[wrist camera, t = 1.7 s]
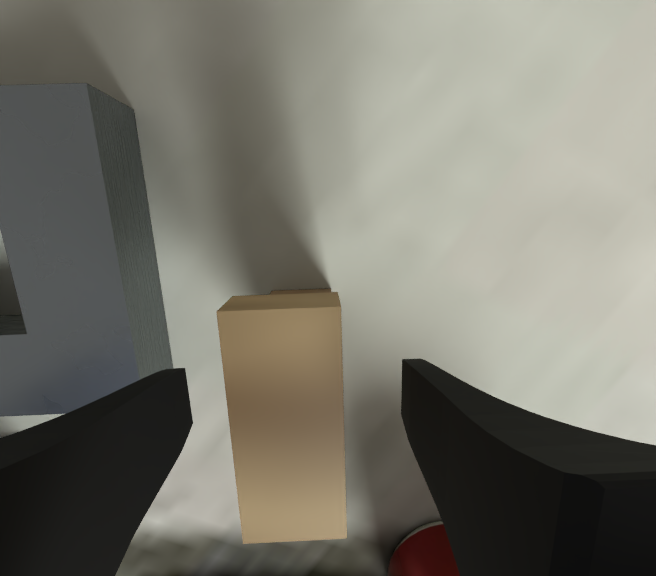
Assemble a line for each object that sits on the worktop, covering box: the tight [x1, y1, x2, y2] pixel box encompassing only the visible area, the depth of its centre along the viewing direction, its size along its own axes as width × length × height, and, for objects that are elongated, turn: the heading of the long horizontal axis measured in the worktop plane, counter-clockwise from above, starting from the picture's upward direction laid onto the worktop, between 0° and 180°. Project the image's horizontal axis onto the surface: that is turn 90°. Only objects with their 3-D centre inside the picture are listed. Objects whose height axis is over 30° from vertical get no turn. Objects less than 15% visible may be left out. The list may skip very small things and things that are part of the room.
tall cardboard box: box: [217, 289, 347, 544], centre depth 13 cm, size 7×3×8 cm, turn 2°
